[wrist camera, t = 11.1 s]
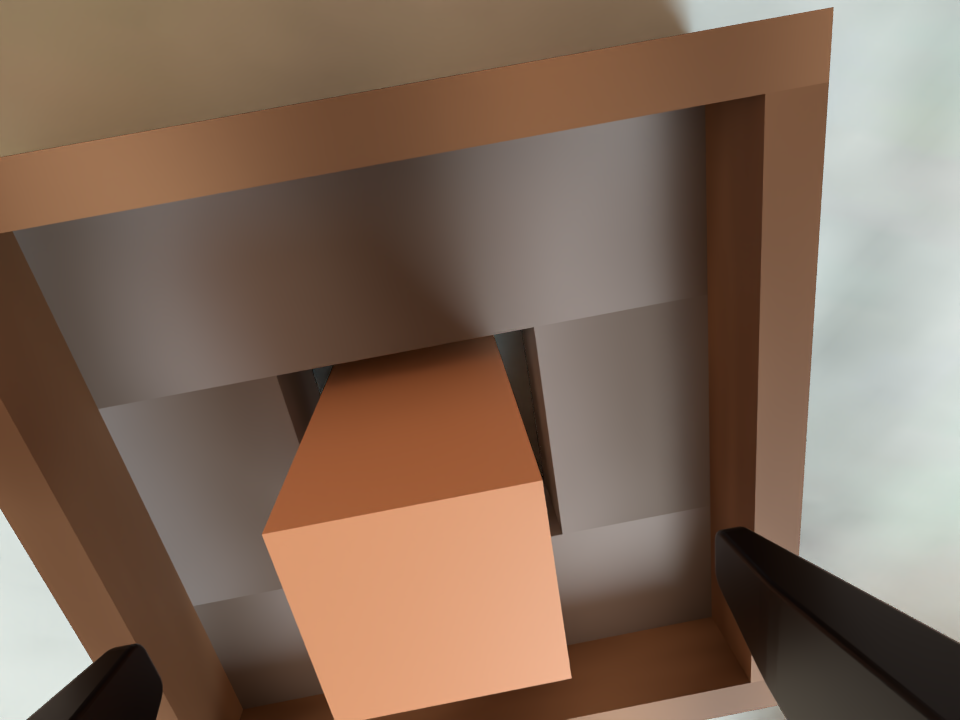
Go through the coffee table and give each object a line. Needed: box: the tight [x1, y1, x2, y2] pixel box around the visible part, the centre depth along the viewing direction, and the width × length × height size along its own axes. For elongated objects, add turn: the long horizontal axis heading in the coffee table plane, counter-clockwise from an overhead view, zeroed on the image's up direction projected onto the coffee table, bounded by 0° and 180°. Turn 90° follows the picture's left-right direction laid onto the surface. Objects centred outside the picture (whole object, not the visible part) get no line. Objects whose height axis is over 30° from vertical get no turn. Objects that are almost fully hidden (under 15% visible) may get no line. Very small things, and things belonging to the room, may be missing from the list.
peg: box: [262, 335, 572, 720], centre depth 12 cm, size 4×4×7 cm
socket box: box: [0, 7, 834, 720], centre depth 13 cm, size 15×15×4 cm
